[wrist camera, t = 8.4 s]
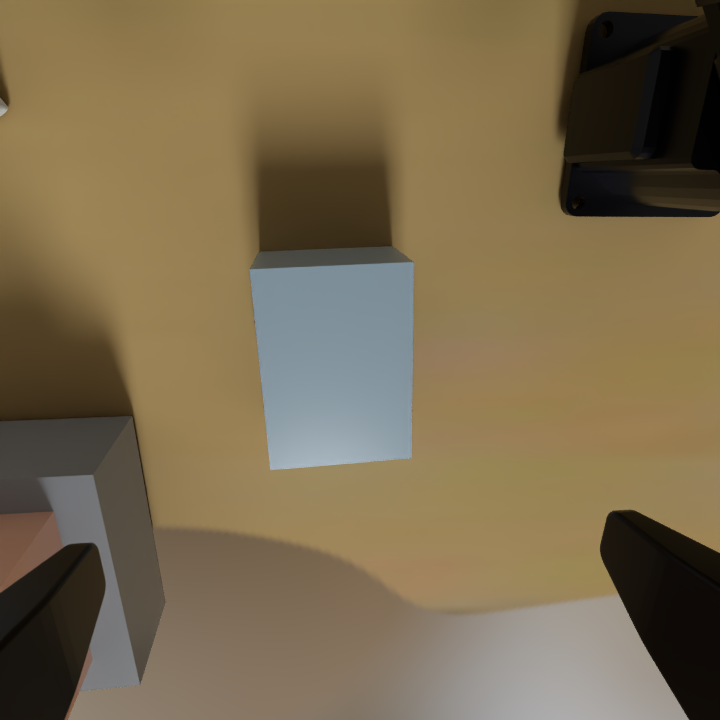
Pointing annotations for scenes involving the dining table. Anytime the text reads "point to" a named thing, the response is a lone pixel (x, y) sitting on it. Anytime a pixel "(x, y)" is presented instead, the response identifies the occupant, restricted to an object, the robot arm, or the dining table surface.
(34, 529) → the terracotta brick
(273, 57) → the dining table surface
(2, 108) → the small box
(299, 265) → the slate brick
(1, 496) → the charcoal base brick
